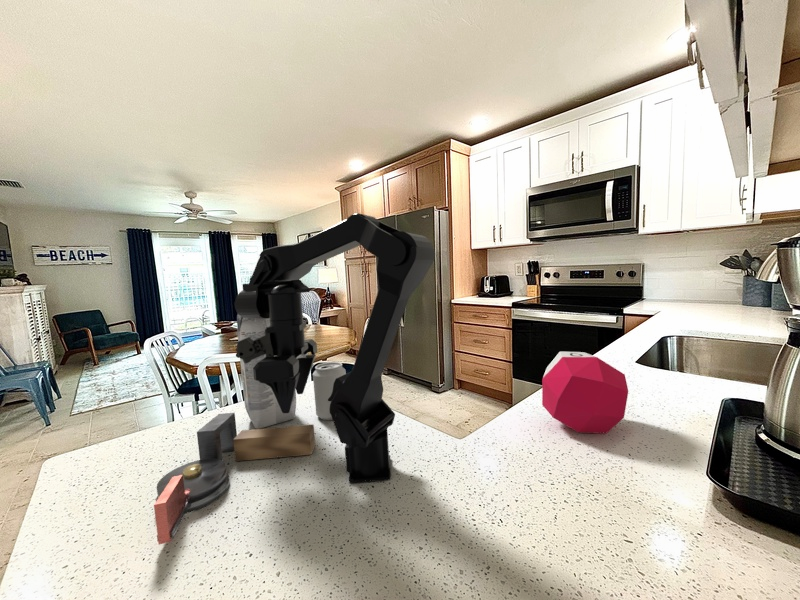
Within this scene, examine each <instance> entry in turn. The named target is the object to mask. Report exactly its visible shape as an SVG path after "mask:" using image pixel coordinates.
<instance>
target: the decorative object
mask: <svg viewBox="0 0 800 600" xmlns="http://www.w3.org/2000/svg"><path fill="white" fill-rule="evenodd" d="M541 381H542V383H541V384H542V389H541V391H542V393H541V394H542V395H541V396H542V397H541V398H542V400H541V403H542V404H541V405H542V407H544V409H545V410H546V411H547V413H548V414H549V415H550V416H551V417H552V418H553V419H555V420H556V421H557V422H560V423H562V424H563V425H565V426H566V427H568V428H570V429H572V430H573V431H575V432H578V433H583V434H584V433H585V434H586V433H587V434H602V435H604V434H605V435H606V434H607V433H608V432H610V430H612V429H613V428H614V427H615V426H616V425H618V424H619V423H620V422H621V421H622V420H623V419H624V418H625V414H626V409H627V408H626V407H627V403H628V396H629V389H628V383H627V379H626V375H625V373H623V372H621V371H620V370H618V369H616V368H615V367H614V366H612V365H611V364H609V363H608V362H606V361H604V360H602V359H601V358H599V357H598V356H595V355H592V354H590V353H587V352H583V351H582V352H581V351H559V352H558V353H557V354H556V356H555V357H554V358H553V360H552V361H551V362H550V363H549V364H548V365H547V367H546V368H545V372H544V374H543V376H542V380H541Z"/></svg>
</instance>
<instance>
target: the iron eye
mask: <svg viewBox="0 0 800 600" xmlns="http://www.w3.org/2000/svg"><path fill="white" fill-rule="evenodd" d="M196 435H197V437H196V438H197V445H198V455H199V460H202V459H210V458H215V459H221V460H223V461H224V459H223V453H231V452H234V442H233V439H234V438H235V437H236V436H237V435H238V433H237V422H236V414H235V412H229V413H228V412H226V413H218V414H217V415H216V416H214V417H213V418H212V419H211V420H209V421H208V422H207V423H205V425H203V426H202V427H201V428H199V429H198V430H197V431H196Z"/></svg>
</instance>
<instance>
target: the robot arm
mask: <svg viewBox="0 0 800 600" xmlns="http://www.w3.org/2000/svg"><path fill="white" fill-rule="evenodd" d="M359 246H360V247H361V246H362V247H363V248H364V249H365V250H366V251H367V252H368V253H369V254H371V255H373V256H375V257H377V263H376V275H377V276H376V277H377V282H378V290H377V294H376V297H375V300H374V302H373V306H372V309H371V312H370V315H369V318H368V322H367V323H366V327H365V330H364V333H363V336H362V339H361V343H360V345H359V349H358V351H357V354H356V358H355V361H354V364H353V367H352V369H351V371H350V372H349V371H348V372H347V373H346V374H345V375H342V376H340V377H338V378H336V379H335V382H334V384H333V391H332V394H331V396H330V397H329V398H328V401H331V403H330V408H329V411H330V414H331V416H332V420H331V421H332V422H333V425H334V428H335V431H336V433H337V436H338V438H339V441H340V443H341V444H345V446H344V453H345V455H344V456H345V466H346V473H347V474H348V473H349V475H348V482H349V483H350V484H354V483H364V482H367V483H368V482H377V481H385V480H386V481H387V480H390V479H392V477H391V476H392V473H391V471H392V470H391V469H392V467H391V455H390V447H389V435H388V428H389V427H391V426H392V425H394V422H395V421H394V420H395V418H396V413H395V412H394V410H392V409H391V407H390V406H389V405H388V404H387V403H386V401H385V400H384V399H383V395H384V385H383V380H382V378H383V377H382V375H383V372H384V369H385V366H386V363H387V361H388V358H389V355H390V352H391V349H392V347H393V344H394V342H395V338H396V336H397V332H398V330H399V326H400V324H401V322H402V319H403V316H404V314H405V310H406V307H407V304H408V302H409V300H410V297H411V296H412V294H413V293H414V292H415V290H416V289H417V288H418V287H419V285H421V284H422V282H423V281H424V279H425V278H426V275H427V274H428V272H429V271H430V269H431V267H432V265H433V262H434V261H435V257H436V251H435V249H434V246H433V243H432V241H431V240H430V239H429V238H428V237H426V236H424V235H422V234H417V233H413V232H412V233H411V232H408V231H402V230H400V229H397V228H395V227H392V226H391V225H389V224H387V223H384V222H382V221H381V220H378V218H376V217H375V216H373V215H372V216H371V215H367V214H364V213H363V214H362V213H357V212H356V213H354V214H351V215H350V216H348V217H347V219H344V220H342V221H340V222H338V223H337V224H334V225H332V226H330V227H328V228H326V229H324V230H321V231H319V232H318V233H315V234H314V235H312V236H310V237H307V238H305V239H304V240H301V241H300V242H296V243H292V244H291V243H290V244H282V245H277V246H276V245H275V246H273V247H268V248H265V249H263V250H262V251H260V254H259V257H258V260H257V262H256V265H255V267H254V270H253V272H252V274H251V276H250V278H249V283H243V284H242V290H241V291H239V292H238V294H237V295H236V298H235V301H234V302H233V303H234V308H235V309H234V310H235V311H236V313H237V315H238V314H239V315H240V316H241V317H243V318H260V319H268V318H270V326H268V327H266V329H265V336H263V337H260V338H258V339H256V340H252V339H251V338H249V337H248V338H246V339H243V340H241V341H239V342H238V341H237V342H236V348H235V350H236V353H235V357H236V358H238V359H240V358H241V359H242V360H243V362H244V364H246V363H248V362H250V361H251V360H252V359H255V358H257V357H259V356H262V355H264V354H266V357H265V358H264V359H262V360H261V361H259V362H258V363H257V364H256V365H255V367H254V368H253V373H254V380H256V381H257V380H258V381H259V382H260V383H265V384H266V385H268V386H270V387H271V389H272V391H273V393H274V395H275V397H276V399H277V402H278V404H279V406H280V408H281V411H282V413H289V412H290V409H291V405H292V401H293V397H294V394H295V390H296V395H303V394H304V392H305V388H306V384H307V382H308V379H309V376H310V373H311V370H312V367H313V365H314V362H315V359H316V355H317V354H316V353H318V345H317V344H318V343H317V342H316V341H315V340H314V339H312V338H310V339H308V338H307V339H305V328H307V321H304V317H303V316H304V315H303V314H304V313H303V300H302V293H303V294H304V293H310V292H311V288H309V286H307V285H306V284H305V283H304V282H303V281H302V280H301V279H302V278H303V277H305V276H306V275H307V274H310V273H311V271H312V269H313V267H315V266H316V265H318V264H320V263H322V262H325V261H327V260H330V259H331V258H334V257H337V256H338V255H341V254H343V253H345V252H349V251H350V250H353V249H355V248H358V247H359ZM309 353H310V354H309Z"/></svg>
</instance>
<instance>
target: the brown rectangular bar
mask: <svg viewBox="0 0 800 600" xmlns="http://www.w3.org/2000/svg"><path fill="white" fill-rule="evenodd" d="M315 437H316V436H315V426H314V424H306V425H303V424H302V425H293V426H280V427H279V426H277V427H269V428H268V427H265V428H261V429H256V428H255V429H254V428H253V429H244V430H241V431H240V432H238V433H237V436H236V437H235V438H234V439H233V442H234V451H233V452H234V461H235V462H240V461H249V460H250V461H253V460H260V459H262V460H264V459H274V458H287V457H299V456H309V455H312V453H313V451H314V449H315V447H316V438H315Z"/></svg>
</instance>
